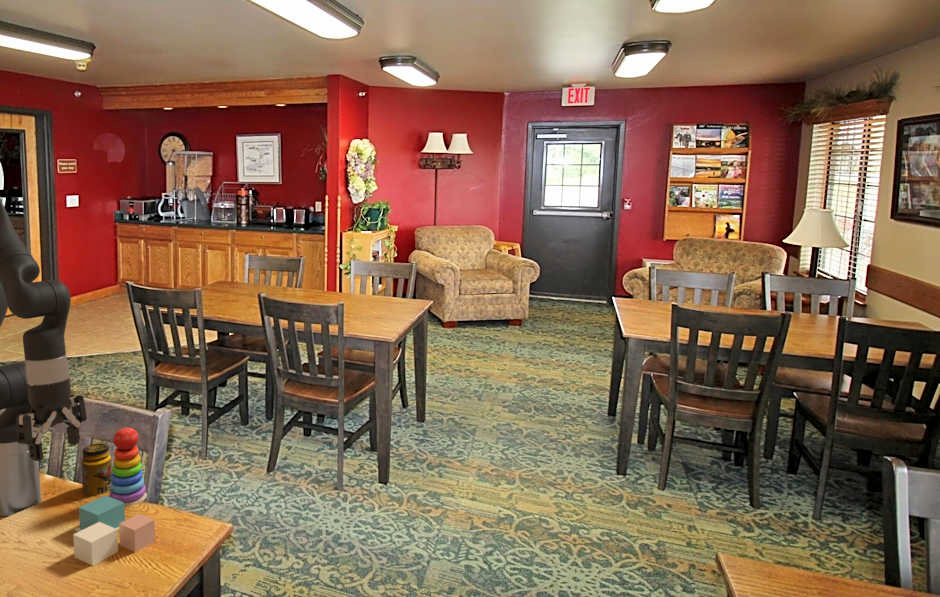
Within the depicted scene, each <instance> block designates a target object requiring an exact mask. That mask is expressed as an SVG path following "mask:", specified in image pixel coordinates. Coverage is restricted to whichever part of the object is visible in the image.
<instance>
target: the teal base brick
mask: <svg viewBox="0 0 940 597" xmlns="http://www.w3.org/2000/svg"><path fill="white" fill-rule="evenodd" d="M78 515H79V516H78V517H79V519H78V520H79V527H80V529H81V530H83V529H85V528H88V527H90V526H92V525H94V524H96V523H98V522H101V523H103V524H106V525H108V526H110V527H113V528H115V529H116V528H118V527H119V524H120V523H122V522H123V521H125V520H126V516H125V515H126V514H125V507H124V502H121V501H119V500H116V499H114V498H111V497H110V495H109V496H108V495H103V496H100V497H99V498H96V499H95V500H91V501H90V502H88V503H85V504H83V505H80V506H78Z"/></svg>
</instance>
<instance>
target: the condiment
mask: <svg viewBox="0 0 940 597" xmlns="http://www.w3.org/2000/svg"><path fill="white" fill-rule="evenodd" d="M109 450H110V447H109V445H108V444H106V443H93V444H89V445H86V446H85V447H84V448H83V449H82V459H81V477H82V478H81V480H82V481H81V482H82V493H83V494H84V495H85V496H86V495H87V496H98V495H99V496H101V495H103V494H106V493H108V492H110V491H111V489H110V484H111V482H112V481H111V475H112V474H113V472H112V457H111V455H110V451H109Z"/></svg>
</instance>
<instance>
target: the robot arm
mask: <svg viewBox="0 0 940 597" xmlns="http://www.w3.org/2000/svg"><path fill="white" fill-rule="evenodd" d="M40 269H41V268H40V266H39V264H38V262H37V261H36V259H35V258H34V256H33V255H32V254H31V252H30V251H29V250H28V248H27V247H26V246H25V244H24V243H23V242H22V240H21V238H20V237H19V235H18V234H17V232H16V230H15V228H14V226H13V222H12V221H11V219H10V217H9V213H8V212H7V210H6V207H5V206H4V204H3V202H2V199H1V198H0V328H1V327H2V324H3V322H4V320H5V317H6V315H7V311H8V309H9V312H10V313H11V314H12V315H14V316H15V317H18V318H20V319H23V320H26V319H27V320H28V319H34V318H40V317H43V319H42V321H41V323H40V324H38V325H36V326H34V327H32V328H30V329H28V330H26V331H24V333H23V335H22V343H23V344H22V345H23V353H24V362H23V361H18V362H11V363H9V364H8V363H7V364H4V365H0V411H1V410H2V413H0V517H11V516H13V515H15V514H18V513H20V512H22V511H25V510H27V509H30V508H32V507H34V506H36V505H39V504H41V503H42V490H41V478H40V477H41V476H40V475H41V474H40V462H41V461H43V460H44V451H43V443H42V440H43V437H44V435H45V434H47V433H48V432H49V429H50V428H52V427H55V426H56V425H58V424H62V423H64V425H66V426H67V427H66V436H67V443H68V444H69V445H73V446H75V445H78V444H79V443H80V438H81V435H80V426H81V424H82V423H83V422H87V418H88V416H87V411H86V410H87V409H86V404H85V397H84V395H80V394H79V395H78V394H72V385H71V376H70V367H69V362H68V358H67V352H66V341H65V332H66V326H67V321H68V318H69V314H70V308H71V293H70V291H69V288H68V287H67V285H66V284H65V283H63V282H62V281H60V280H59V279H58V280H57V279H48V280H43V281H42V280H41V281H35V280H36V279H37V278H38V277H39V275H40V273H41V270H40ZM70 409H71V411H70ZM3 410H4V411H3ZM39 426H40V427H39Z"/></svg>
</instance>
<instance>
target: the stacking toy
mask: <svg viewBox="0 0 940 597" xmlns="http://www.w3.org/2000/svg"><path fill="white" fill-rule="evenodd" d="M139 437H140V436H139V434H138V432H137V430H136V429H134V428H131V427H122V428H120V429H119V430H117V431H116V432H115V434H114V435H113V444H114V446H115V447H116V449H114V452H113V456H114V459H113V466H112V467H111V471H112V475H111V481H112V482H111V484H110V489H111V490H109V497H111V498H114V499H116V500H119V501H121V502H124V508H125V507H131V506H135V505H137V504H140V503H142V502H143V501H144V500H145V499H147V497H148V494H147V492H146V491H147V487H146V485H145V479H144V478H143V475H144V472H143V470H142V467H143V465H142V463H141V459H142V457H141V455H139V452H140V450H139V447H138V446H137V444H138V442H139Z"/></svg>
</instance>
